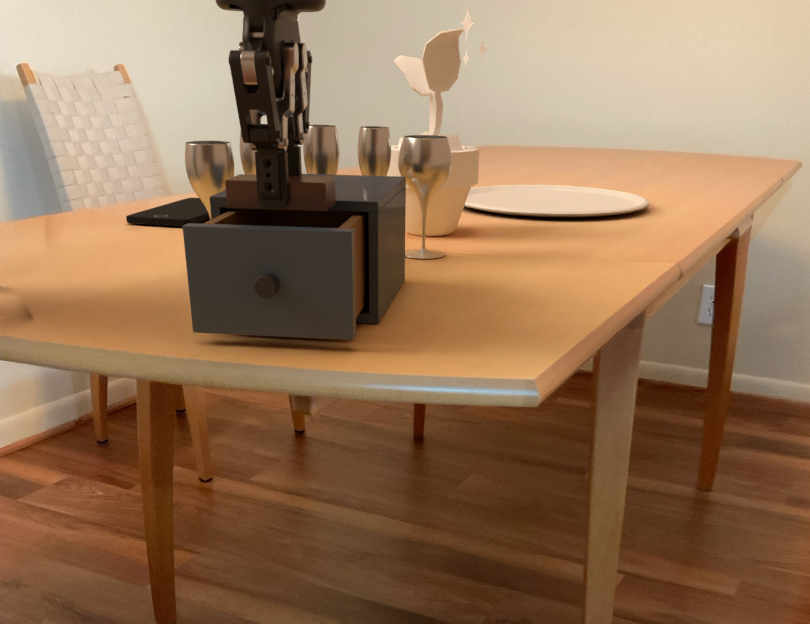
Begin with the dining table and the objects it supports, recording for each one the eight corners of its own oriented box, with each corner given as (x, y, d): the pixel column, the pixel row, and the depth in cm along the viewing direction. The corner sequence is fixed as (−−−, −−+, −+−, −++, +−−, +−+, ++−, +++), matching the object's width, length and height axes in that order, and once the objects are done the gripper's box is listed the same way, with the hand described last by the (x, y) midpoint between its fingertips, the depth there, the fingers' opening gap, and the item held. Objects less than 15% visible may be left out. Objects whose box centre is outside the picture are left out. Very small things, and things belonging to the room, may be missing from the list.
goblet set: (200, 275, 91) (186, 130, 85) (190, 264, 96) (177, 125, 90) (457, 258, 100) (462, 125, 94) (437, 248, 105) (440, 121, 99)
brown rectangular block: (326, 212, 67) (325, 182, 66) (227, 208, 68) (224, 179, 67) (335, 204, 70) (335, 176, 69) (240, 201, 71) (239, 174, 70)
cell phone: (125, 223, 117) (124, 215, 116) (190, 204, 132) (189, 197, 132) (188, 227, 115) (187, 219, 114) (247, 207, 130) (246, 200, 130)
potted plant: (494, 236, 112) (506, 0, 100) (410, 243, 107) (413, -4, 96) (442, 221, 122) (448, 4, 110) (363, 227, 117) (361, 1, 105)
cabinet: (378, 324, 76) (378, 201, 71) (219, 317, 77) (209, 196, 73) (404, 280, 90) (405, 176, 86) (270, 275, 92) (264, 172, 87)
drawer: (350, 344, 67) (348, 234, 63) (187, 337, 68) (176, 228, 65) (384, 292, 82) (384, 200, 78) (249, 287, 83) (243, 196, 79)
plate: (688, 208, 135) (689, 199, 134) (562, 229, 117) (563, 219, 117) (536, 187, 154) (537, 179, 153) (409, 203, 136) (409, 194, 136)
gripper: (242, -60, 67) (258, 188, 75) (175, -86, 55) (202, 215, 63) (343, -61, 66) (347, 191, 74) (297, -87, 54) (308, 219, 62)
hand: (280, 201), depth 69 cm, fingers closed on brown rectangular block, 3 cm apart
